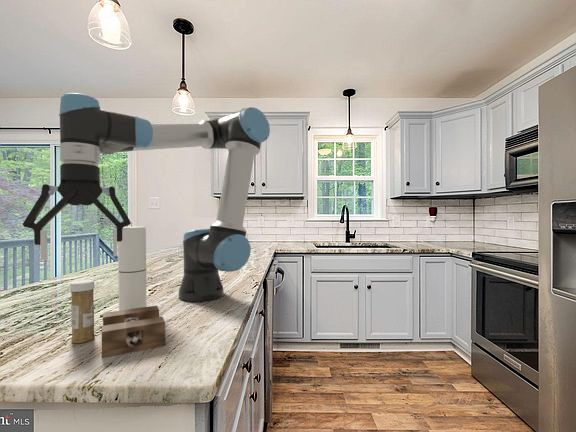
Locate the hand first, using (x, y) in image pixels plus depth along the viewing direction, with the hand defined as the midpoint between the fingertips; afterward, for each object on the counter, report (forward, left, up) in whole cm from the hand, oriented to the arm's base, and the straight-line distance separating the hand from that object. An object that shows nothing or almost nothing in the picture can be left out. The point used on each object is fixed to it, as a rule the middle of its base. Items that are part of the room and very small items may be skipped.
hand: (81, 257), depth 72 cm
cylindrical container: (-11, -15, -19) cm, 27 cm away
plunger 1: (-10, 0, -17) cm, 20 cm away
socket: (-10, +5, -19) cm, 22 cm away
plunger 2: (-10, +11, -17) cm, 23 cm away
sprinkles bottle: (0, 0, -19) cm, 19 cm away
